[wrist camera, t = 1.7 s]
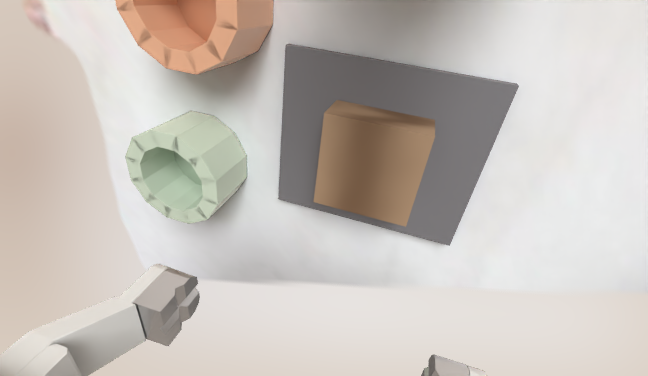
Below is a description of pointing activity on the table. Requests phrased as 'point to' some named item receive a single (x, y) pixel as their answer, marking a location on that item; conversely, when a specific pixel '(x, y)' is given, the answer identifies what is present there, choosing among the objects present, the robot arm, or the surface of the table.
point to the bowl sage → (187, 166)
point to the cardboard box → (372, 160)
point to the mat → (399, 96)
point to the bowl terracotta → (197, 30)
